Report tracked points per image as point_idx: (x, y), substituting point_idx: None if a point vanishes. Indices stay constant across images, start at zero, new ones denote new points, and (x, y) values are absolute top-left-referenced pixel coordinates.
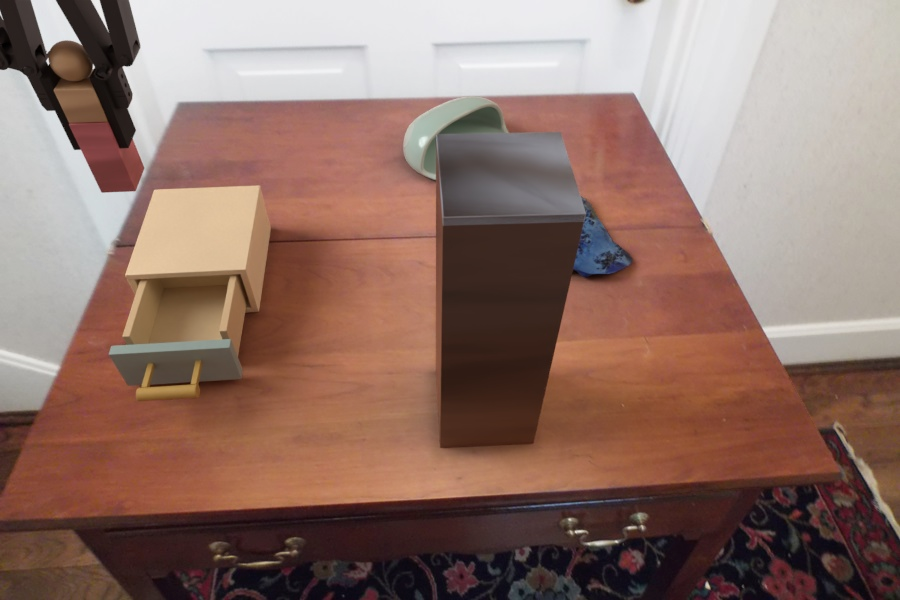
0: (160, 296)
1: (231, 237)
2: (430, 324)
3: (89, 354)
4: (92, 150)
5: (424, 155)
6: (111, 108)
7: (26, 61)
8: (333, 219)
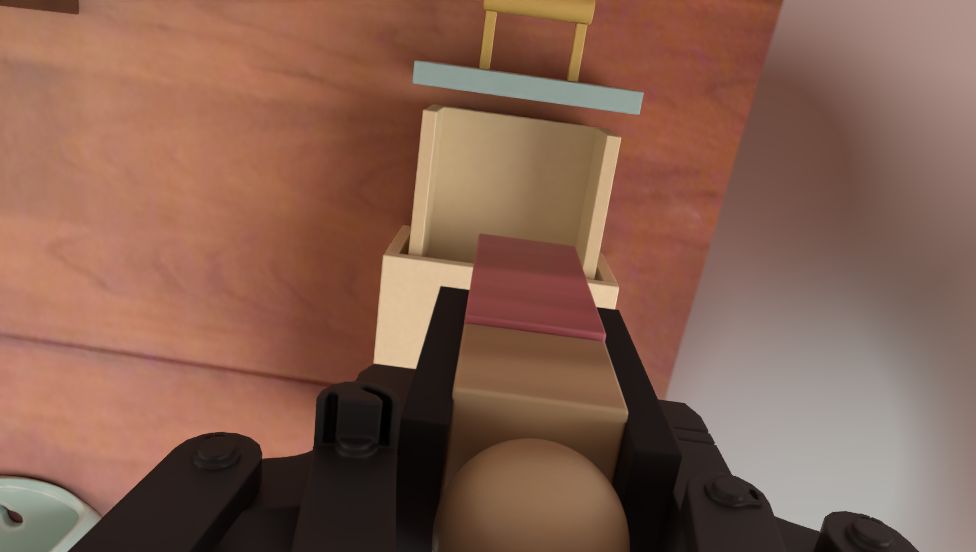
0: None
1: (414, 350)
2: (86, 128)
3: (697, 187)
4: (555, 287)
5: (60, 540)
6: (424, 349)
7: (731, 523)
8: (266, 427)
